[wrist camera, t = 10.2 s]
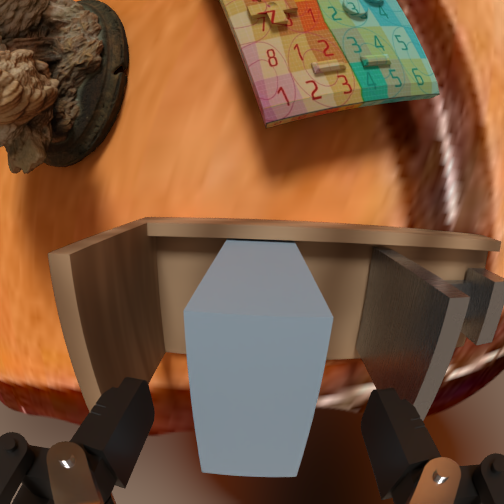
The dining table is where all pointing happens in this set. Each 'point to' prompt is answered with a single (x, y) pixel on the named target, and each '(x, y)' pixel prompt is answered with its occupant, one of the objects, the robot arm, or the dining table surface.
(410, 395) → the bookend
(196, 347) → the pale blue block
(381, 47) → the puzzle game
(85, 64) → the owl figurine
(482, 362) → the dining table surface
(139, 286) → the shelf
